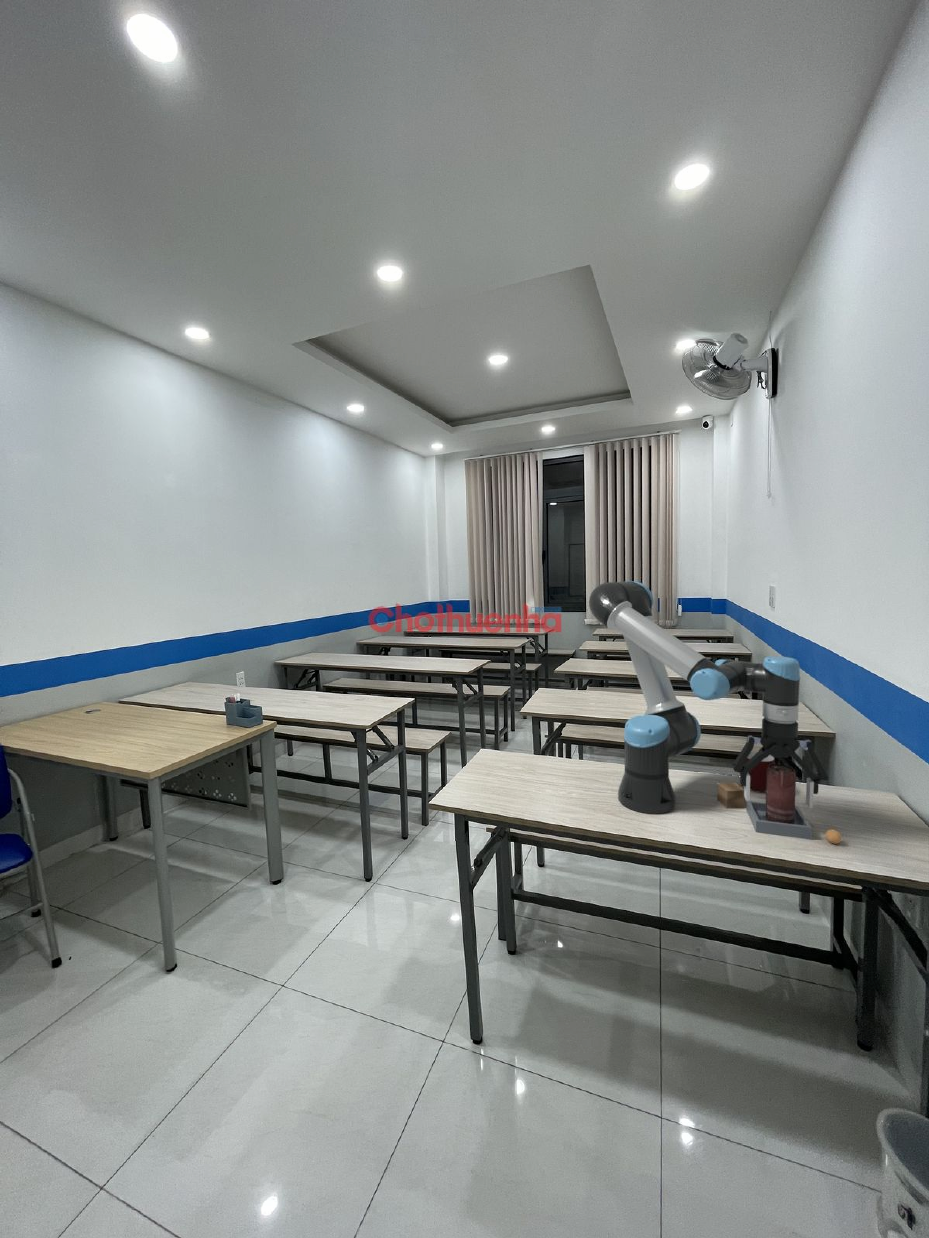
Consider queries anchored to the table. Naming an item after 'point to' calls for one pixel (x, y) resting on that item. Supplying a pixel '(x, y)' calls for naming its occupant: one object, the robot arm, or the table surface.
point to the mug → (759, 773)
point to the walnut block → (730, 795)
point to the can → (780, 794)
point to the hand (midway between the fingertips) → (777, 802)
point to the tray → (764, 826)
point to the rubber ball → (833, 836)
